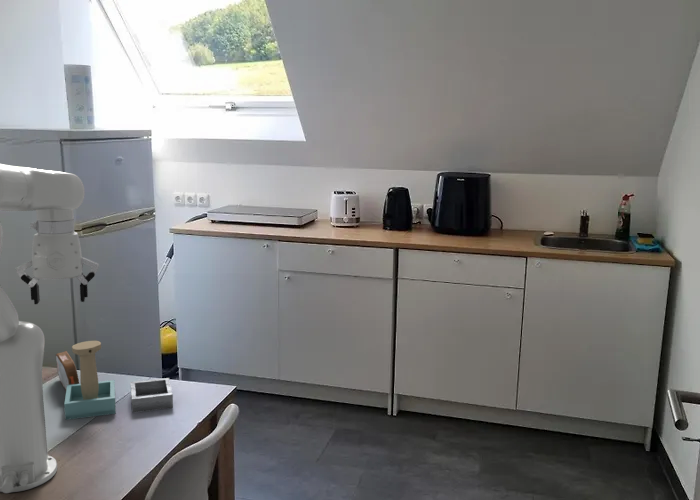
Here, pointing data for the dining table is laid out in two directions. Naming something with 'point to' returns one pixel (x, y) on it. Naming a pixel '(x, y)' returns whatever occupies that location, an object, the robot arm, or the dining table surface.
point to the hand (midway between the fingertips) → (60, 301)
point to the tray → (90, 401)
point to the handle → (88, 368)
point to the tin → (66, 369)
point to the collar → (152, 400)
